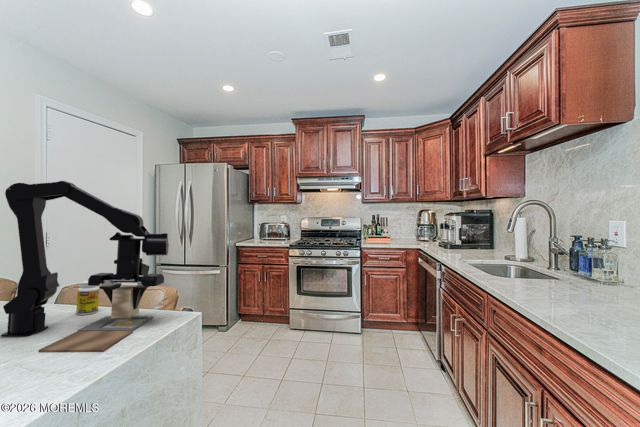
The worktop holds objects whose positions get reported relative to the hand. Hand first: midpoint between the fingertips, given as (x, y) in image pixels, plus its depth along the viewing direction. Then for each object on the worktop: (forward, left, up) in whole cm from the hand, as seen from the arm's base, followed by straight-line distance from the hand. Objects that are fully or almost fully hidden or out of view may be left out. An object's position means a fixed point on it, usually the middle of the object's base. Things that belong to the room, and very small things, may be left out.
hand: (125, 308), depth 85 cm
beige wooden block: (0, 0, -2) cm, 2 cm away
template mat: (-2, 0, -4) cm, 5 cm away
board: (-1, -13, -4) cm, 14 cm away
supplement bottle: (-18, +11, -5) cm, 21 cm away
